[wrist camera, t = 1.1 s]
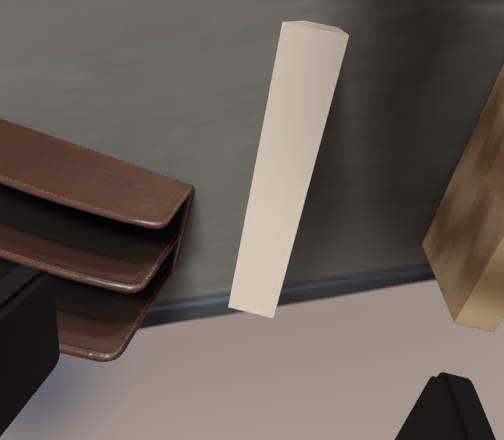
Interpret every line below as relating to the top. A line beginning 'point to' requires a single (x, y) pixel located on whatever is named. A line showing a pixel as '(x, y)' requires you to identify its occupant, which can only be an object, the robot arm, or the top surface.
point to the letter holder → (89, 235)
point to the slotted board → (474, 224)
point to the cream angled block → (286, 159)
